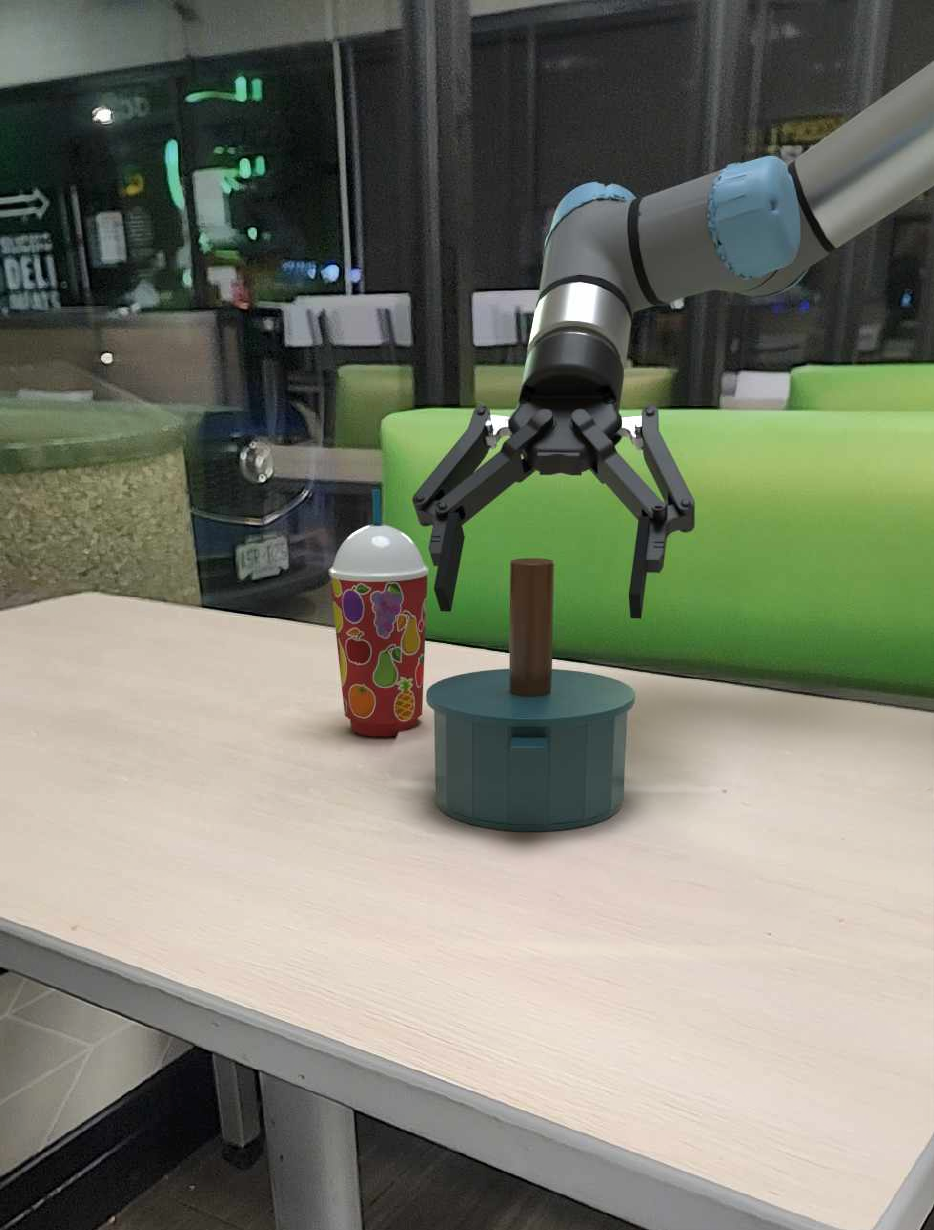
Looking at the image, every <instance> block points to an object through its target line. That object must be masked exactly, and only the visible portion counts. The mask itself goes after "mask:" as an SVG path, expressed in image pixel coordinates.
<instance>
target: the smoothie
mask: <svg viewBox="0 0 934 1230" xmlns="http://www.w3.org/2000/svg"><path fill="white" fill-rule="evenodd" d="M371 493H372V496H371V497H372V518H373V519H372V522H373V524H368V525H365V526H363V527H360V528H358V529H357V530H355V531H353V532H352V533H350V534H349V535H348V536H347V537H346V539H345V540H344V541H343V542H342V544H341V545H340V547H339V548H338V550H337V551H336V552H337V553H336V554H335V557H334V560H333V564H332V566H330V568H329V569H328V571H327V572H328V576H329V579H330V591H331V599H332V608H333V609H332V610H333V618H334V628H335V638H336V644H337V645H336V646H337V654H338V655H337V657H338V666H339V675H340V682H341V692H342V702H343V712H344V717H346V718H347V719H348V720H349V721H350V727H351V730H352V731H353V732H354V733H356V734H359V735H362V736H366V737H374V738H391V737H398V735H399V733H400V731H403V730H404V731H405V730H408V729H411V728H414V727H415V726H416V725H417V724H418V718H420V717H421V716H422V715H423V703H424V677H425V676H424V675H425V656H426V655H425V654H426V629H427V628H426V626H427V625H426V624H427V605H428V604H427V603H428V601H427V599H428V575H429V571H430V567H429V566H428V565H426V564H425V561H424V558H423V556H422V554H421V551H420V550H419V548H418V546H417V545H416V544H415V542H414V541H413V540H412V538H410V536H409V535H408V534H406V533H404V532H403V531H401V530H400V529H398V528H395V527H393V526H392V525H391V526H390V525H389V524H382V509H381V506H382V505H381V489H372V490H371Z"/></svg>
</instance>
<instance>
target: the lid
mask: <svg viewBox="0 0 934 1230" xmlns="http://www.w3.org/2000/svg"><path fill="white" fill-rule="evenodd" d="M554 591H555V561H554V560H553V559H549V558H539V557H538V558H537V557H529V558H528V557H526V558H515V559H512V560H510V562H509V654H508V655H509V661H508V662H509V665H508V667H509V668H499V669H488V670H480V671H472V672H466V673H462V674H461V673H460V674H457V675H453V676H449V677H446V678H443V679H441V680H438V681H436V682H435V683H433V684H431V685H430V686H429V687H428V688H427V689H426V694H425V695H426V696H425V697H426V699H425V700H426V704H427V706H428V707H429V708H430V709H431V710H433V712H434V711H436V712H438V713H440V714H443V715H445V716H448V717H451V718H455V719H459V720H463V721H468V722H473V723H479V724H486V725H496V726H509V727H558V726H570V725H579V724H586V723H592V722H597V721H602V720H606V719H610V718H613V717H616V716H619V715H621V714H623V713H625V712H627V713H628V711H630V710H631V709H632V708H633V707H634V705H635V702H636V701H635V700H636V691H634V690H635V689H633V688H632V686H630V685H628V683H625V682H622V681H620V680H618V679H615V678H612V677H609V676H604V675H601V674H596V673H592V672H585V671H579V670H578V671H577V670H569V669H558V668H553V644H554V643H553V639H554V636H553V635H554V595H555V593H554Z"/></svg>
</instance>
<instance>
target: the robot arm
mask: <svg viewBox="0 0 934 1230" xmlns="http://www.w3.org/2000/svg"><path fill="white" fill-rule="evenodd" d="M933 187H934V60H933V61H931V62H930V63H929V64H927V65H925V66H924V67H923V68H922V69H920V70H919V71H917V72H916V73H914V74H913V75H912V76H910V77H909V78H907V79H906V80H904V81H903V82H902V83H900V84H899V85H898V86H896V87H895V88H893V89H892V90H891V91H889V92H888V93H886V94H884V96H882V97H881V98H879V99H877V100H876V101H875V102H873V103H872V104H871V105H869V106H868V107H867V108H865V109H864V110H862V111H861V112H859V113H858V114H857V115H855V116H854V117H853V118H851V119H849V120H848V121H846V122H845V123H843V124H842V125H841V126H839V127H838V128H836V129H835V130H834V131H832V132H831V133H830V134H828V135H827V136H825V137H824V138H822V139H821V140H820V141H818V142H817V143H816V144H813V146H811V147H810V148H808V149H807V150H806V151H804V152H802V153H801V154H800V155H798V156H797V157H795V159H794V160H793V161H791V162H790V163H788V164H787V165H786V163H785V162H784V160H782V159H781V158H779V157H778V156H775V155H767V156H763V157H759V158H755V159H752V160H749V161H746V162H742V163H741V162H733V163H730V164H728V165H726V167H724V168H722V169H720V170H716V171H713V172H711V173H708V174H705V175H703V176H700V177H696V178H695V179H691V180H689V181H688V180H687V181H686V182H683V183H680V184H677V185H675V186H672V187H668V188H666V189H663V190H660V191H657V192H654V193H652V194H648V195H646V196H642V197H639V198H637V197H636V196H635V195H634V194H633V193H632V192H631V191H630V190H628V189H627V188H625V187H623V186H622V185H619V184H615V183H610V184H606V183H599V182H598V181H593V182H587V183H584V184H581V185H579V186H577V187H575V188H574V189H572V190H570V192H568V193H567V194H566V195H565V196H564V197H563V198H562V200H561V201H560V202H559V203H558V206H557V207H556V208H555V209H556V210H555V211H554V215H553V218H552V221H551V225H550V228H549V233H548V234H547V236H546V238H545V242H544V246H543V254H542V258H543V263H542V271H541V275H540V276H541V277H540V283H539V290H538V297H537V300H536V301H537V302H536V304H535V311H534V314H533V320H532V324H531V330H530V334H529V340H528V344H527V351H526V359H525V362H524V368H523V369H524V370H523V374H522V378H521V379H522V380H521V384H520V391H519V397H518V403H517V406H516V408H515V409H514V411H513V412H512V413H511V414H510V416H508V415H507V416H506V415H497V414H491V412H490V408H489V407H488V406H487V405H484V404H481V405H478V406H476V407H475V408H474V409H473V412H472V415H471V417H470V421H469V424H468V426H467V429H466V430H465V431H464V432H463V434H462V435H461V436H460V437H459V439H458V440H457V441H456V442H455V443H454V444H453V446H452V447H451V448H450V449H449V451H448V452H447V453H446V455H445V456H444V457H443V459H442V460H441V461H440V462H439V463H438V464H437V465H436V467H435V468H434V469H433V471H432V472H431V473H430V475H428V477H427V478H426V479H425V480H424V482H423V483H422V485H420V487H419V488H418V489H417V490H416V492H415V493H414V494H413V496H412V498H411V501H412V504H413V507H414V512H415V514H416V518H417V521H418V524H419V525H420V526H421V527H425V528H426V527H429V526H432V528H431V533H430V539H429V543H428V552H429V555H430V559H431V562H432V565H433V567H437V569H436V575H435V578H434V579H435V580H434V585H433V591H434V594H435V597H436V601H437V604H438V608H439V610H440V612H446V613H447V612H449V613H451V612H452V608H453V602H454V597H455V591H456V586H457V581H458V576H459V571H460V565H461V561H462V560H461V559H462V556H463V555H462V554H463V550H464V544H465V539H466V536H465V532H464V528H463V526H464V525H465V524H466V523H467V522H468V521H470V520H471V519H472V518H473V517H475V516H476V515H477V514H478V513H480V512H481V511H482V510H483V509H485V508H486V507H487V506H488V505H489V504H490V503H492V502H493V501H494V500H495V499H497V498H498V497H499V496H500V495H502V494H503V493H504V492H506V491H507V490H508V489H509V488H510V487H511V486H513V485H514V484H515V483H518V484H519V483H523V482H524V481H525V480H526V479H527V478H529V477H531V475H533V474H534V473H535V472H539V476H552V475H559V474H564V475H567V476H582V475H583V474H582V473H584V472H587V471H590V472H591V474H593V476H594V477H595V478H596V479H597V480H598V482H599V483H601V484H602V485H606V486H607V487H608V488H609V490H610V491H611V492H612V493H613V494H614V495H615V496H616V498H617V499H618V500H619V501H620V502H621V503H622V505H624V506H625V507H626V509H627V510H628V511H629V512H630V514H631V515H633V517H634V518H635V519H636V520H637V528H636V537H635V542H634V543H635V544H634V552H633V558H632V566H631V572H630V573H631V574H630V582H629V589H628V604H629V617H630V619H642V616H643V607H644V600H645V591H646V584H647V575H648V574H649V573H650V574H651V573H652V574H661V572H662V570H663V569H664V566H665V565H664V564H665V557H666V549H667V543H668V542H667V541H668V537H669V536H670V535H671V534H673V533H674V532H677V531H679V532H681V533H685V534H686V533H690V532H692V531H693V530H694V529H695V525H696V524H695V523H696V520H695V519H696V517H695V516H696V514H695V511H696V509H695V508H696V502H695V499H694V497H693V495H692V493H691V492H690V489H689V487H688V485H687V483H686V481H685V479H684V477H683V476H682V475H683V474H682V473H681V471H680V470H679V468H678V465H677V463H676V462H675V460H674V458H673V455H672V454H671V452H670V450H669V449H670V448H669V447H668V446H667V444H666V441H665V440H664V437H663V436H662V433H661V432H660V423H659V422H660V421H659V420H660V419H659V417H660V416H659V409H658V408H657V406H654V405H647V406H645V407H644V408H643V409H641V415H634V416H623V417H622V415H621V413H620V407H621V400H622V394H623V386H624V380H625V369H626V365H627V358H628V350H629V344H630V336H631V329H632V322H633V318H634V315H635V314H634V313H635V312H638V311H642V310H645V309H648V308H652V307H656V306H659V305H664V304H666V303H669V302H672V301H677V300H680V299H683V298H687V297H692V296H694V295H699V294H702V293H706V292H710V291H715V290H716V291H723V292H729V293H737V294H741V295H743V296H746V297H753V298H760V299H761V298H762V299H763V298H770V297H773V296H776V295H779V294H782V293H784V292H786V291H788V290H790V289H792V288H793V287H794V286H796V285H797V284H798V283H799V282H800V281H802V279H803V278H804V277H805V276H806V274H807V273H808V272H809V270H810V268H811V267H812V266H814V265H815V264H816V263H818V262H820V261H821V260H823V259H824V258H826V257H827V256H828V255H830V254H831V253H833V252H834V251H836V250H837V249H839V248H840V247H841V246H842V245H844V244H845V243H847V242H849V241H850V240H852V239H853V238H855V237H856V236H858V235H859V234H861V233H862V232H864V231H866V230H867V229H869V228H870V227H873V225H875V224H877V223H878V222H880V221H881V220H882V219H884V218H886V217H887V216H889V215H890V214H892V213H893V212H895V211H897V210H898V209H900V208H902V207H903V206H904V205H906V204H907V203H909V202H911V201H912V200H914V199H916V198H917V197H919V196H920V195H921V194H923V193H925V192H926V191H928V190H929V189H931V188H933ZM508 436H509V438H507V439H506V440H505V441H504V442H503V443H502V444H501V445H502V446H501V449H500V450H499V451H498V452H497V453H496V454H495V455H493V456H492V457H490V459H488V460H487V461H485V462H484V463H483V461H484V460H485V458H486V457H487V455H488V454H489V451H490V450H495V449H496V448H497V447H498V446H497V445H498V443H499V441H500V440H501V439H503V437H508ZM623 438H627V439H628V440H630V441H631V444H632V446H634V447H635V449H636V451H642V454H643V455H642V456H643V459H644V462H645V464H646V467H647V468H648V470H649V473H650V475H651V478H653V480H654V483H655V485H656V487H657V489H658V492H659V493H660V495H661V497H662V499H663V500H662V499H661V498H660V497H659V496H658V495H657V494H656V492H655V491H653V490H652V488H651V487H650V486H649V485H648V484H647V483H646V482H645V480H643V479H642V477H641V476H640V475H639V474H638V473H637V472H636V471H635V470H634V469H633V467H632V466H631V465H630V464H629V463H628V462H627V461H626V460H625V459H624V458H623V457H622V455H621V454H620V453H619V452H618V451H617V449H616V446H617V445H618V444H619V443H620V442H621V440H622V439H623ZM522 457H523V458H522ZM481 464H482V465H481ZM478 467H479V468H478Z"/></svg>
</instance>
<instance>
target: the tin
mask: <svg viewBox="0 0 934 1230" xmlns="http://www.w3.org/2000/svg"><path fill="white" fill-rule="evenodd" d="M433 712H434V713H433V722H434V723H433V724H434V725H433V728H434V729H433V730H434V782H435V784H434V785H435V790H434V791H435V799H436V804H437V807H438V808H439V809H440V810H441V811H442V812H443V813H444V814H445V815H447V816H449V817H451V818H452V819H455V820H457V821H460V822H463V823H465V824H467V825H473V826H477V827H480V828H486V829H492V830H498V831H509V832H533V833H534V832H555V831H565V830H571V829H579V828H583V827H588V826H591V825H594V824H598V823H601V822H603V821H605V820H607V819H609V818H611V817H613V816H614V815H615V814H617V813H618V812H619V811H620V810H621V807H622V806H623V801H624V794H625V793H624V792H625V772H626V752H627V751H626V748H627V731H628V730H627V729H628V726H627V725H628V711H627V712H625V713H623V714H621V715H619V716H616V717H613V718H610V719H606V720H602V721H597V722H592V723H586V724H579V725H570V726H558V727H509V726H496V725H486V724H479V723H473V722H468V721H463V720H459V719H455V718H451V717H448V716H445V715H443V714H440V713H438V712H436V711H434V710H433Z"/></svg>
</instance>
